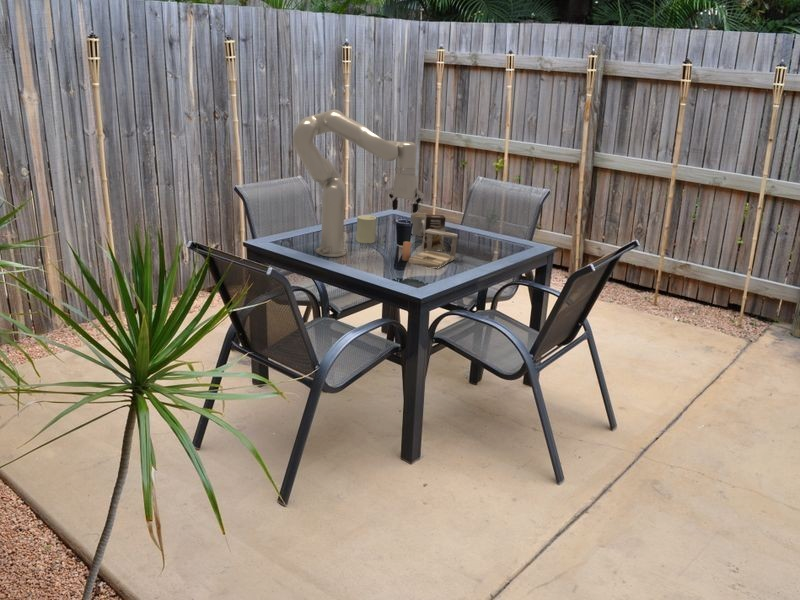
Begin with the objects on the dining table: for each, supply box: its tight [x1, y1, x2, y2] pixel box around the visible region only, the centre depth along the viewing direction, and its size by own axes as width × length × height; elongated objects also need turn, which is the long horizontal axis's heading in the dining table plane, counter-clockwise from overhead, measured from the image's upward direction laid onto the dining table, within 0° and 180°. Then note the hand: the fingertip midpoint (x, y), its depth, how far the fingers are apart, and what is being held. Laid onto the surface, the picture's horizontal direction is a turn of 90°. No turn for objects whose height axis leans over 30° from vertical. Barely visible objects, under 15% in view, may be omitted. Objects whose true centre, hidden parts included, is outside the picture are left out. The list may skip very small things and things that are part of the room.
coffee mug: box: [409, 212, 427, 237], centre depth 365 cm, size 13×10×10 cm
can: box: [355, 214, 377, 244], centre depth 346 cm, size 9×9×12 cm
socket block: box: [408, 229, 458, 268], centre depth 321 cm, size 18×14×12 cm
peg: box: [401, 241, 412, 262], centre depth 321 cm, size 3×3×8 cm
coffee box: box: [421, 213, 446, 252], centre depth 340 cm, size 9×6×16 cm
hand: (404, 210), depth 318 cm, fingers open, 9 cm apart
